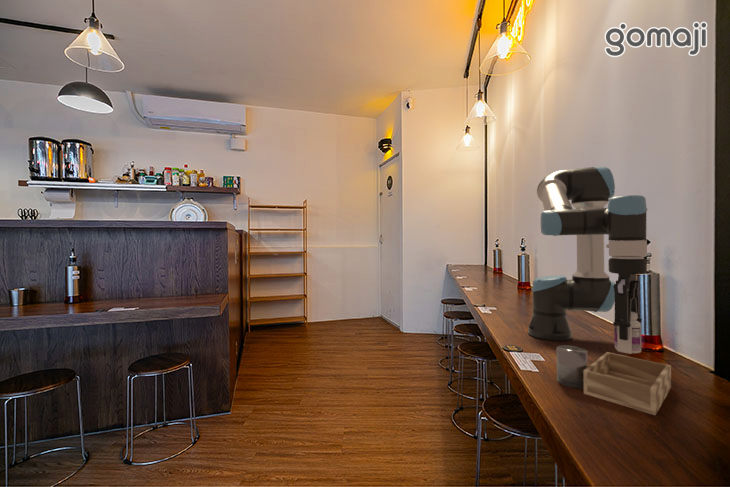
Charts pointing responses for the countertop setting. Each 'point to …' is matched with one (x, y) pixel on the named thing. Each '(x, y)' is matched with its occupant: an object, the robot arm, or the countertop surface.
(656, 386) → the caddy
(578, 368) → the tin can
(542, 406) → the countertop surface
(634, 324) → the pill bottle
